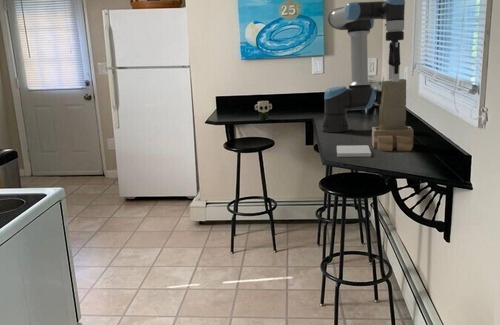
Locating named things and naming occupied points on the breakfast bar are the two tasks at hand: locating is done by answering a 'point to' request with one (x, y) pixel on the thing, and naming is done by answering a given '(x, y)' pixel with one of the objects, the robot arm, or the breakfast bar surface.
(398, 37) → the robot arm
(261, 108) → the big eared figurine
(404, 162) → the breakfast bar surface
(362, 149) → the felt pad
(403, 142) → the offcut block
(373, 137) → the rack
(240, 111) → the breakfast bar surface
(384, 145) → the offcut block
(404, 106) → the stone slab
